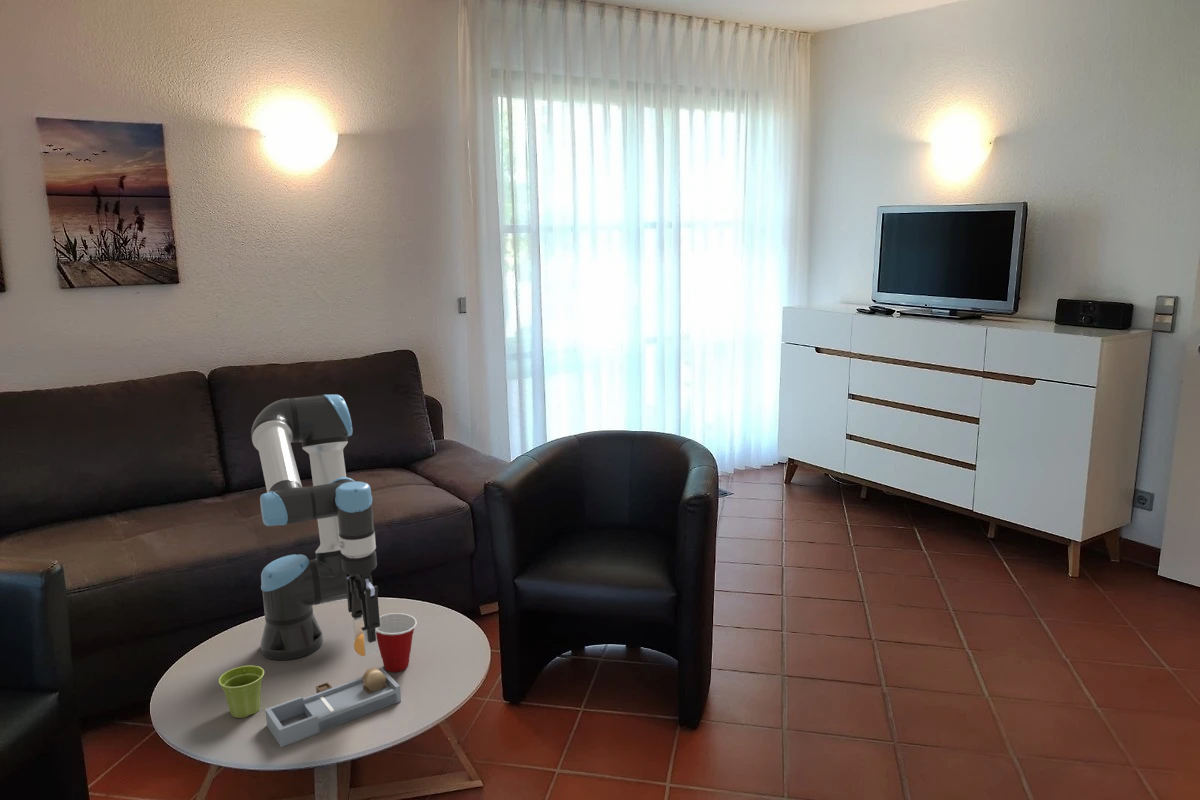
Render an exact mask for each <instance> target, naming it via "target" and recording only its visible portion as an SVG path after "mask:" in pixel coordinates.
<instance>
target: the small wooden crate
mask: <svg viewBox="0 0 1200 800" xmlns="http://www.w3.org/2000/svg"><path fill="white" fill-rule="evenodd" d="M330 688H333V687H332V685H331V684H330V683H329V682H324V683H321V684H319V685H316V686H315V691H316V693H319V692H322V691H325V690H327V689H330ZM316 693H315V694H316Z"/></svg>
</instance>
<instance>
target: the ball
mask: <svg viewBox="0 0 1200 800" xmlns="http://www.w3.org/2000/svg"><path fill="white" fill-rule="evenodd" d="M353 643H354V644H353V647H354V651H355V652H356V653H357V655H359V656H363V657H367V656H366V655H365V648H364V637H363V634H361V635H359V636H358V637H357V638H356V640H355V639H354V642H353Z"/></svg>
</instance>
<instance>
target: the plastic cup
mask: <svg viewBox="0 0 1200 800" xmlns="http://www.w3.org/2000/svg"><path fill="white" fill-rule="evenodd" d="M379 618H380V627H377V628H376V635H377V646H378V649H379V653H380V657H381V659H382V663H383V667H384V670H385V671H386V672H390V673H398V672H402V671H404V670H406V669H407V668H408V667H409V664H410V656H411V655H410V654H411V652H412V651H411V650H412V643H413V634H414V631H415V628H416V626H417V625H418V622H417V618H415V617H414V616H413V615H411V614H407V613H403V612H402V613H401V612H393V613H385V614H382V615H379Z"/></svg>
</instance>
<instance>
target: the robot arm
mask: <svg viewBox="0 0 1200 800" xmlns="http://www.w3.org/2000/svg"><path fill="white" fill-rule="evenodd" d="M351 418H352V417H351V413H350V411H349V408H348V405H347V403H346V401H345V399H344V397H343V396H341V395H340V394H321V395H320V394H319V395H318V394H317V395H311V396H301V397H292V398H281V399H279V400H276V401H274V402H271V403H270V404H269V405H267V406H266V407H264V408H263V409H262V410H261V412H259V414H258V415H256V418H255V420H254V421H253V424H252V427H251V431H250V434H251V435H250V436H251V442H252V445H253V446H254V448H255V449H256V450H257V451H258V454H259V458H260V463H261V470H262V472H263V473H262V474H263V479H264V482H265V483H264V484H265V488H266V492H265V493H262V494H260V495H259V496H260V497H259V501H260V502H259V503H260V512H261V517H262V523H263V525H265V526H266V527H273V526H275V527H276V526H285V525H290V524H296V523H303V522H308V521H312V520H317V525H318V534H319V542H320V544H319V546H318V548H317V549H316V550H315V558H313V559H309V558H308V556H306V555H304V554H300V553H299V554H296V553H295V554H289V555H288V554H287V555H285V556H281V557H279V558H277V559H275V560H273V561H270V563H268V564H267V565H265V567H263V569H262V571H261V573H260V580H261V581H260V582H261V585H260V589H261V591H262V599H263V600H262V601H263V609H264V611H263V612H264V618H265V622H264V623H265V624H264V628H263V632H262V636H261V640H260V652H261V655H262V656H264V657H265V658H266V659H269V660H274V661H287V660H288V661H289V660H290V661H291V660H295V659H298V658H302V657H306V656H308V655H310V654H312V653H314V652H316V651H317V650H318V649H320V647H321V646H322V645H323V642H324V639H323V638H324V637H323V636H324V635H323V631H322V629H321V626H320V625H319V622H318V621H317V619H316V617H315V614H314V609H313V607H314V606H317V605H323V604H327V603H332V602H336V601H341V600H347V609H348V613H351V617H352V618H353V619H352V620H353V622H352V623H353V633H354V634H353V635H354V641H355V640H356V638H357V637H358V636H359V635H361V634H363V637H364V648H365V655H366V656H365V657H368V656H371V655H374V654H377V653H379V651H378V649H379V647H378V641H377V635H376V628H377V627H380V618H379V617H380V610H379V608H380V607H379V587H378V585H373V584H374V582H373V581H374V580H373V577H372V575H371V573H372V571H374V570H375V569H376V568H377V567H378V560H377V559H378V558H377V551H376V549H377V545H376V544H377V543H376V531H375V525H374V513H373V512H374V511H373V500H374V499H373V495H372V489H371V486H370V484H369V483H367V482H364V481H358V480H357V481H356V480H354V479H353V478H350V477H347V472H346V463H345V457H344V456H345V455H344V449H345V447H346V446H347V444H348V443H349V441H348V440H349V439H348V437H351V436H352V435H353V424H352V419H351ZM292 443H301V448H302V450H303V451H305V452H306V453H307V454H308V455H309V456H308V457H309V461H310V471H311V477H312V479H311V480H312V486H304V487H303V485H302V481H301V479H300V474H299V471H298V467H297V463H296V459H295V456H294V451H293V448H292V447H293V446H292V445H291V444H292Z"/></svg>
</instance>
